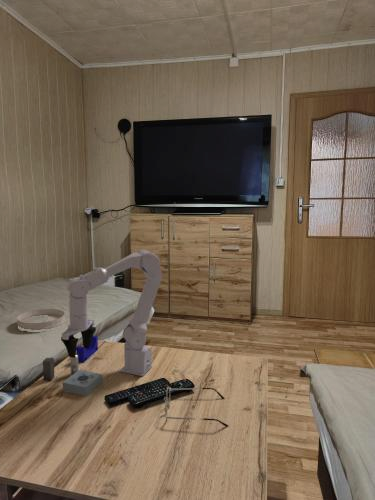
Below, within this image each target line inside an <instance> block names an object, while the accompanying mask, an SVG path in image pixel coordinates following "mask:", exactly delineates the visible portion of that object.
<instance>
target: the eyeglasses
mask: <svg viewBox="0 0 375 500" xmlns="http://www.w3.org/2000/svg"><path fill="white" fill-rule="evenodd" d="M178 390H179V391H185V390H187V391H188V390H213V391H214V392H216V393H217V394H218V395H219V397H220V398H221V399H222V400H226V398H225V397H224V395H222V394H221V393H220V392H219V391H218V390H217V389H216V388H213V387H201V388H200V387H198V388H195V387H191V388H190V387H189V388H187V387H186V388H182V387H181V388H170V387H169V386H167V388H166V396H164V398H163V400H164V401H165V402H164V413H165V414H164V417H165V420H166V421H168V419H173V420H194V421H195V420H196V418H193V417H175V416H168V410H170V407H171V391H178ZM168 391H169V392H168ZM168 393H170V394H169V395H168ZM168 396H169V397H168ZM200 420H201V421H215V422H219V424H221V425H223V426H224V427H229V424H227V423H224V422H223V421H221V420H219V419H216V418H200Z"/></svg>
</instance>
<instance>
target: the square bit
mask: <svg viewBox="0 0 375 500" xmlns="http://www.w3.org/2000/svg"><path fill="white" fill-rule="evenodd" d="M42 374H43V376H42V377H43V381H45V382H46V381H47V382H52V381H53V380H54V378H55V358H53V357H46V358H45V359H43V360H42Z"/></svg>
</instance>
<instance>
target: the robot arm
mask: <svg viewBox="0 0 375 500" xmlns="http://www.w3.org/2000/svg"><path fill="white" fill-rule="evenodd" d="M161 264H162V262H161V260H160V258H159V256H158V254H156V253H154V252H151V251H148V250H147V249H140V250H138V251H136V252H135V251H134V252H132V253H131V254H128V255H127V256H125V257H124V258H122V259H119V260H118V261H116V262H114V263H113V264H111V265H109V266H107V267H105V268H103V267H100V266H99V267H96V266H95V267H93V268H92V270H91V271H89V272H87V273H85V274H80V275H79V277H74V278H72V279H71V280H69V282H68V284H67V290H68V292H69V297H68V298H69V301H68V304H69V305H68V307H69V309H68V310H69V324H68V325H67V328H66V330H64V331H63V332H62V333H61V337H60V340H61V342H62V343H63V344H64V346H65V348H66V351H67V355H68V357H69V358H70V357H72V358H74V357H75V356H76V347H77V346H78V345H77V344H78V342H79V338H78V337H75V335H77V334H78V333H80V334H81V338H82V346H83V347H84V348H88V349H89V348H90V344H91V340H92V337H93V336H94V334H95V332H96V330H97V327H95V319H88V299H87V294H88V293H89V292H90V291H92V290H95V289H97V288H98V287H100V286H103V285H104V284H106V283H108V281H109V279H110V277H112V276H114V275H117V274H119V273H121V272H123V271H126V270H128V269H132V268H133V269H141V270H142V272H143V273H144V275H145V276H146V279H145V282H144V285H143V287H142V291H141V293H140V297H139V299H138V302H137V306H136V307H135V311H134V314H133V317H132V318H130V320H129V321H128V323H127V324H126V326H125V327H124V328H123V330H122V331H123V332H122V337H123V338H124V340H125V343H124V352H123V353H124V366H123V367H122V368H120V369H119V372H120V373H125V374H131V375H135V376H139V377H143V376H145V375H146V373H147V372H148V371H149V370H151V369H152V367H153V365H152V349H151V348H150V347H147V346H146V342H147V333H148V327H147V323H148V321H149V317H150V313H151V311H152V308H153V305H154V302H155V300H156V298H157V297H156V296H157V293H158V290H159V287H160V285H161V283H162V279H163V273H162V268H161Z"/></svg>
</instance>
